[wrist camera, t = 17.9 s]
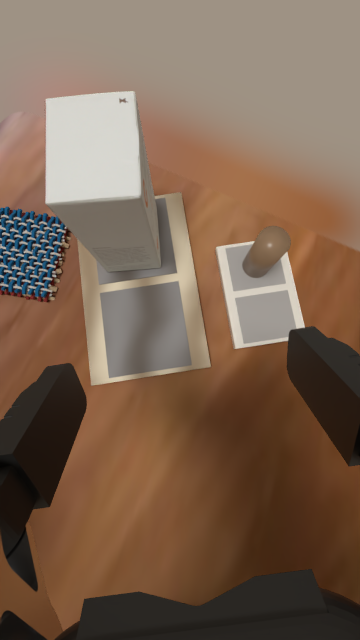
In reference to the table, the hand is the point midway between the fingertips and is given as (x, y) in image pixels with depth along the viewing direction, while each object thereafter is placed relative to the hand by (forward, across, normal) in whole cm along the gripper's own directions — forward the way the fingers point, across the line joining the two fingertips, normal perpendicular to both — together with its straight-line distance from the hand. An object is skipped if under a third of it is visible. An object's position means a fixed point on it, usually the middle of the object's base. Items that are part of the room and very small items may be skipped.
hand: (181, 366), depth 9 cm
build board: (+21, +4, +3) cm, 22 cm away
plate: (+20, -9, +6) cm, 22 cm away
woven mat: (+25, +18, -1) cm, 30 cm away
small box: (+23, +4, -2) cm, 24 cm away
